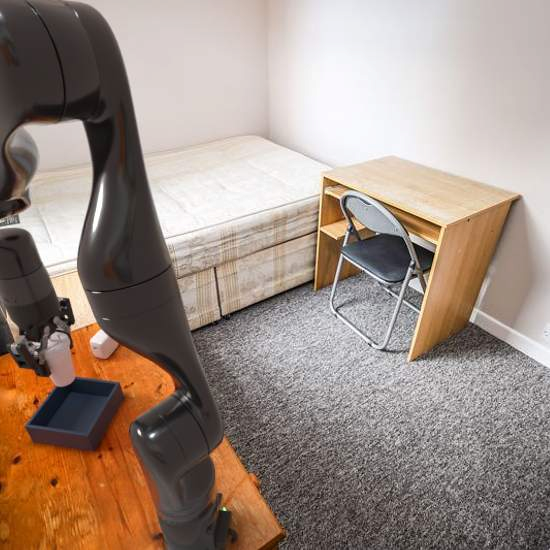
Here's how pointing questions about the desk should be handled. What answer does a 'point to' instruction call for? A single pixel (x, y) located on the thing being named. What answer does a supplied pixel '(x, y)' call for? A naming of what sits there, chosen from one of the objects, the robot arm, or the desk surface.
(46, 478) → the desk surface
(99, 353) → the power adapter
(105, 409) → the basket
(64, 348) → the smoothie
